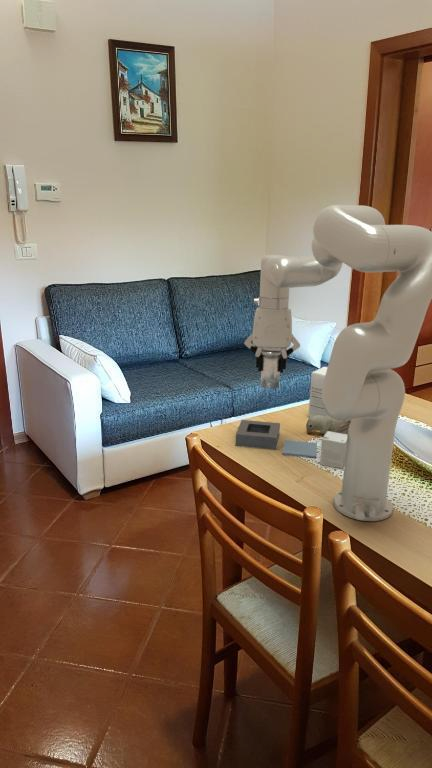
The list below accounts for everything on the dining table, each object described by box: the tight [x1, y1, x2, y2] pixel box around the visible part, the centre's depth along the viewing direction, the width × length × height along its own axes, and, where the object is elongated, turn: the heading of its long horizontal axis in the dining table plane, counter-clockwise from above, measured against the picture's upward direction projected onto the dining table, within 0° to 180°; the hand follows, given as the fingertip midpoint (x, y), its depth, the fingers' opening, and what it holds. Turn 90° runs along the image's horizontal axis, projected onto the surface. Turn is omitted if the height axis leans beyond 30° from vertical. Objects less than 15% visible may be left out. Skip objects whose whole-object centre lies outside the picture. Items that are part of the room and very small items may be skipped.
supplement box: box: [308, 366, 328, 419], centre depth 175 cm, size 9×9×15 cm
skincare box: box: [319, 431, 347, 470], centre depth 144 cm, size 6×6×7 cm
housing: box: [234, 419, 281, 451], centre depth 158 cm, size 11×11×4 cm
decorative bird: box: [305, 415, 352, 435], centre depth 161 cm, size 5×16×8 cm, turn 74°
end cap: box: [260, 347, 282, 390], centre depth 151 cm, size 6×6×10 cm
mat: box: [281, 439, 318, 459], centre depth 152 cm, size 9×9×1 cm
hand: (270, 370), depth 151 cm, fingers closed on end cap, 5 cm apart
